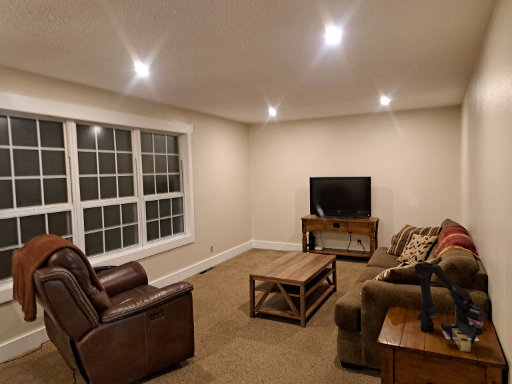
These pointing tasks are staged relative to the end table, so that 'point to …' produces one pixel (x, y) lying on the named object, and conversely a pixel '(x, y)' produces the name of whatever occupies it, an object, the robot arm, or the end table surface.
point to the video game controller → (474, 321)
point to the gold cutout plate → (462, 341)
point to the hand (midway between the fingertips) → (462, 343)
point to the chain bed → (453, 335)
